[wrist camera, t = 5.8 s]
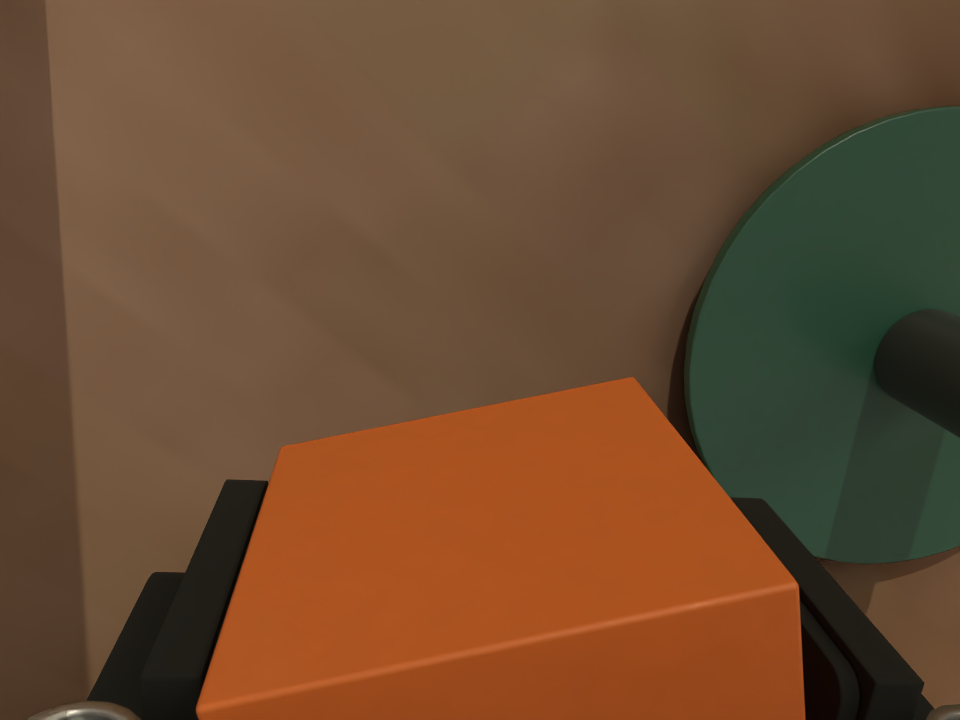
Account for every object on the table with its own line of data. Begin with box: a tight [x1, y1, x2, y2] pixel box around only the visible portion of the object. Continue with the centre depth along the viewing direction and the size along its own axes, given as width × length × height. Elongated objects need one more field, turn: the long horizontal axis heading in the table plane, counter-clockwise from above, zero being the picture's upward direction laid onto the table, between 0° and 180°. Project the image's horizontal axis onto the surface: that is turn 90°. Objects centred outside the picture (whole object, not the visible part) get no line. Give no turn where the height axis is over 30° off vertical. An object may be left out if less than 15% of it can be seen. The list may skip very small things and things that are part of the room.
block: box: [196, 377, 805, 720], centre depth 10 cm, size 5×5×5 cm
